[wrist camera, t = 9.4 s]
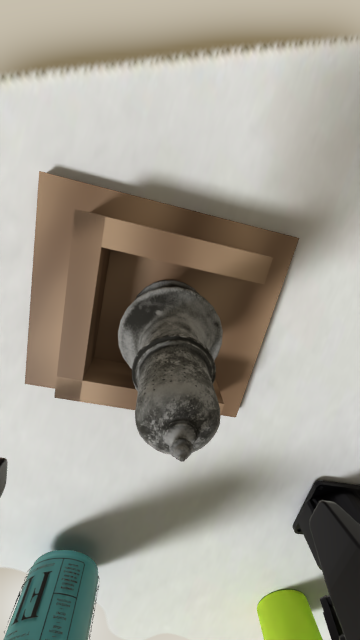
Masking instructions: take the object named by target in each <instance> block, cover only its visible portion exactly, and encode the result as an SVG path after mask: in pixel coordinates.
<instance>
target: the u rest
mask: <svg viewBox="0 0 360 640" xmlns="http://www.w3.org/2000/svg"><path fill="white" fill-rule="evenodd" d="M298 240H299V238H296V237H293V236H289V235H285V234H281V233H277V232H273V231H269V230H265V229H262V228H258V227H254V226H250V225H246V224H242V223H238V222H234V221H231V220H227V219H223V218H219V217H215V216H211V215H207V214H203V213H200V212H196V211H192V210H188V209H184V208H180V207H176V206H172V205H169V204H165V203H161V202H157V201H153V200H149V199H145V198H141V197H138V196H134V195H130V194H126V193H122V192H118V191H114V190H110V189H107V188H103V187H99V186H95V185H91V184H87V183H83V182H79V181H76V180H72V179H68V178H64V177H60V176H56V175H52V174H48V173H45V172H41V171H39V184H38V198H37V213H36V228H35V243H34V257H33V272H32V287H31V302H30V316H29V331H28V346H27V361H26V375H25V384H30V385H36V386H42V387H48V388H55V398H61V399H67V400H73V401H80V402H86V403H93V404H99V405H106V406H112V407H119V408H125V409H131V410H135V409H136V402H137V394H138V391H137V390H136V388H135V386H134V383H133V380H132V369H131V368H130V366H129V365H128V364H127V362H126V361H125V360H124V358H123V356H122V353H121V350H120V348H119V342H118V330H119V326H120V321H121V319H122V317H123V315H124V313H125V311H126V309H127V308H128V307H129V306H130V305H131V304H132V303H133V302H134V300H135V298H136V297H137V295H138V294H139V293H140V292H141V291H142V290H143V289H144V288H145V287H147V286H149V285H151V284H152V283H155V282H158V281H162V280H176V281H180V282H183V283H186V284H187V285H189V286H191V287H193V288H194V289H195V290H196V291H197V292H198V293H199V294H200V295H201V296H202V297H204V298H205V299H206V300H207V301H208V302H209V303H210V304H211V305H212V306H213V307H214V309H215V311H216V313H217V314H218V316H219V318H220V321H221V326H222V330H223V334H222V345H221V348H220V351H219V353H218V356H217V357H216V359H215V360H214V362H215V366H216V377H215V380H214V383H213V387H214V390H215V393H216V396H217V399H218V402H219V406H220V416H221V415H224V416H230V417H236V415H237V412H238V410H239V407H240V404H241V401H242V398H243V395H244V393H245V390H246V387H247V384H248V381H249V379H250V376H251V373H252V370H253V367H254V364H255V362H256V359H257V356H258V353H259V350H260V347H261V345H262V342H263V339H264V336H265V333H266V331H267V328H268V325H269V322H270V319H271V316H272V314H273V311H274V308H275V305H276V302H277V299H278V297H279V294H280V291H281V288H282V285H283V283H284V280H285V277H286V274H287V271H288V268H289V266H290V263H291V260H292V257H293V254H294V251H295V249H296V246H297V243H298Z"/></svg>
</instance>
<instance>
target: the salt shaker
mask: <svg viewBox="0 0 360 640" xmlns="http://www.w3.org/2000/svg"><path fill="white" fill-rule="evenodd" d="M222 334H223V330H222V326H221V321H220V318H219V316H218V314H217V313H216V311H215V309H214V307H213V306H212V305H211V304H210V303H209V302H208V301H207V300H206V299H205V298H204V297H202V296H201V295H200V294H199V293H198V292H197V291H196V290H195V289H194V288H193V287H191V286H189V285H187V284H186V283H183V282H180V281H176V280H162V281H158V282H155V283H152V284H151V285H149V286H147V287H145V288H144V289H143V290H142V291H141V292H140V293H139V294H138V295H137V297H136V298H135V300H134V302H133V303H132V304H131V305H130V306H129V307H128V308H127V309H126V311H125V313H124V315H123V317H122V319H121V321H120V326H119V330H118V342H119V348H120V350H121V353H122V356H123V358H124V360H125V361H126V362H127V364H128V365H129V366H130V368H131V369H132V380H133V383H134V386H135V388H136V390H137V391H138V394H137V402H136V409H135V419H136V425H137V429H138V431H139V434H140V436H141V437H142V438H143V439H144V441H145V442H146V443H147V444H149V445H150V446H152V447H153V448H154V449H156V450H157V451H160V452H163V453H165V454H171V455H172V456H173V457H175V458H176V459H178V460H180V461H185V459H187V458H188V457H189V456H190V454H191V453H192V452H195V451H197V450H199V449H201V448H202V447H203V446H205V445H206V444H207V443H208V442H209V441H210V440H211V439H212V437H213V436H214V435H215V433H216V432H217V429H218V427H219V424H220V406H219V402H218V399H217V396H216V393H215V390H214V387H213V383H214V380H215V377H216V366H215V362H214V360H215V359H216V357H217V356H218V353H219V351H220V348H221V345H222Z"/></svg>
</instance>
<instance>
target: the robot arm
mask: <svg viewBox="0 0 360 640" xmlns="http://www.w3.org/2000/svg"><path fill="white" fill-rule="evenodd" d="M6 477H7V459H5V458H0V497H1V495H2V493H3V491H4V488H5V485H6ZM293 529H294V531H295V533H297V534H304V536H305V539H306V541H307V543H308V545H309V547H310V550H311V552H312V554H313V556H314V558H315V560H316V563H317V565H318V567H319V568H320V569H321V570H322V572H323V575H324V579H325V582H326V585H327V588H328V592H329V596H326V595H325V596H324V597H322V598H320V601H321V604H322V607H323V610H324V612H323V614H324V617H325V620H326V623H327V627H328V630H329V633H330V636H331V639H332V640H360V486H357V485H350V484H342V483H335V482H327V481H316V482H315V483H314V485H313V487H312V489H311V491H310V493H309V495H308V496H307V498H306V500H305V502H304V504H303V506H302V508H301V510H300V512H299V514H298V516H297V518H296V520H295V522H294V524H293Z"/></svg>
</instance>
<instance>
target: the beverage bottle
mask: <svg viewBox="0 0 360 640" xmlns="http://www.w3.org/2000/svg"><path fill="white" fill-rule="evenodd" d="M30 569H31V570H30ZM30 569H29V570H30V571H29V574H28V577H27V576H26V577H27V579H26V582H25V583H24V584H23V585H24V586H22V589H23V590H22V593H21V595H20V593H19V595H18V597H19V596H20V597H19V600H18V603H17V606H16V608H15V611H14V614H13V616H12V619H11V622H10V624H9V627H8V630H7V633H6V635H5V638H4V640H88V636H89V630H90V624H91V618H92V614H93V609H94V601H95V602H96V600H95V595H96V591H97V590H98V589H97V584H98V578H99V576H98V568H97V565H96V563H95V562H94V561H93V560H92V559H91V558H90V557H89V556H87V555H85V554H83V553H80V552H77V551H72V550H57V551H52V552H48V553H46V554H44V555H42V556H41V557H39V558H38V559H37V560H36V561H35V563H34V565H33V566H32V567H31V568H30ZM27 573H28V572H27ZM98 587H99V585H98ZM96 589H97V590H96ZM96 596H97V595H96ZM17 599H18V598H17ZM16 602H17V600H16ZM15 604H16V603H15ZM94 611H95V610H94Z"/></svg>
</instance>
